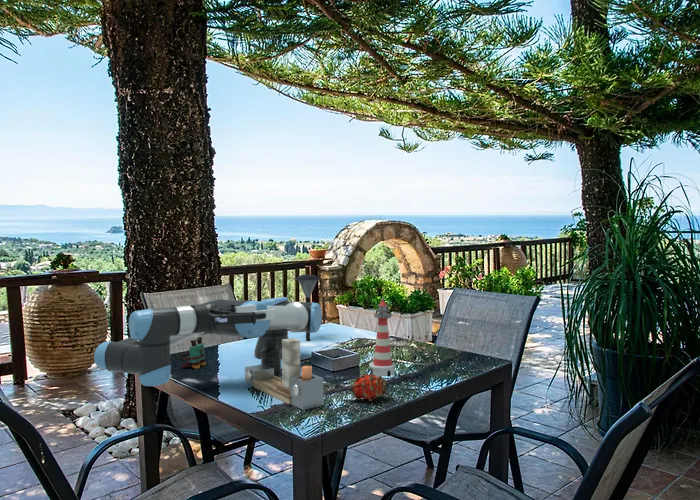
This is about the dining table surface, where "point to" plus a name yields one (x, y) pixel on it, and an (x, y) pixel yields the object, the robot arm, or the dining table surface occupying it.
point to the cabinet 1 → (258, 373)
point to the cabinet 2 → (306, 392)
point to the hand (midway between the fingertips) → (264, 311)
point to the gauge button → (306, 372)
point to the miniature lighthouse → (382, 344)
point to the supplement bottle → (271, 356)
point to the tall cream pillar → (289, 363)
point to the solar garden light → (307, 289)
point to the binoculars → (194, 354)
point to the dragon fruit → (369, 387)
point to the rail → (272, 388)
